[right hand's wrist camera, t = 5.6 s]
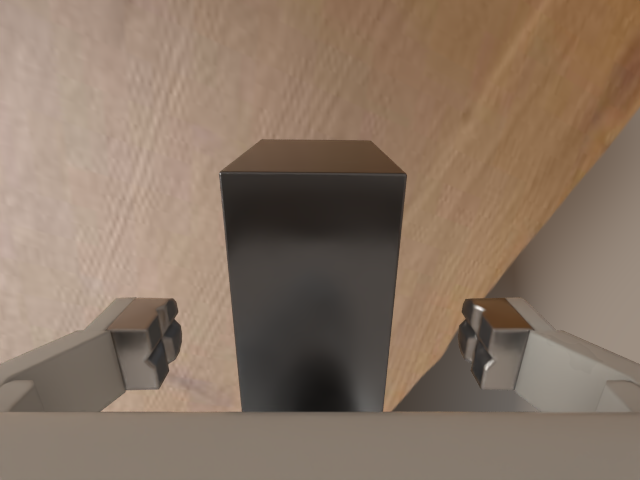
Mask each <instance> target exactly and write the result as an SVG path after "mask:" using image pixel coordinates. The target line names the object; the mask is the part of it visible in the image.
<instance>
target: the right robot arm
mask: <svg viewBox="0 0 640 480" xmlns="http://www.w3.org/2000/svg"><path fill="white" fill-rule="evenodd" d="M177 313H178V308H177V303H176V301H175V300H174V299H173V298H136V297H134V298H117V299H115V300H114V301H113V302H112V303H111V304H110V305H109V306H108V307H107V308H106V309H105V310H104V311H103V312H102V313H101V314H100V315H99V316H98V317H97V318H96V319H95V320H94V321H93V322H92V323H91V324H90V325H89V326H88V327H87V328H86V329H84V330H83V331H75V332H73V333H71V334H68V335H66V336H64V337H62V338H59V339H57V340H55V341H52V342H50V343H48V344H45V345H43V346H41V347H38V348H36V349H34V350H32V351H29V352H27V353H25V354H22V355H20V356H18V357H15V358H13V359H11V360H8V361H6V362H4V363H2V364H0V480H640V364H638V363H636V362H634V361H631V360H629V359H627V358H624V357H622V356H620V355H617V354H615V353H613V352H611V351H608V350H606V349H604V348H601V347H599V346H597V345H594V344H592V343H590V342H588V341H585V340H583V339H581V338H578V337H576V336H574V335H571V334H569V333H567V332H565V331H557V330H556V329H555V328H553V327H552V326H551V325H550V324H549V323H548V322H547V321H546V320H545V319H544V318H543V317H542V316H541V315H540V314H539V313H538V312H537V311H536V310H535V309H534V308H533V307H532V306H531V305H530V304H529V303H528V302H527V301H526V300H525V299H523V298H520V297H516V298H480V299H465V301H464V303H463V307H462V313H463V315H464V317H465V318H466V319H465V320H464V321H463V322H462V323H461V324H460V325H459V332H458V342H459V348H460V351H461V354H462V355H463V357H464V359H465V360H466V361H468V362H469V363H471V364H472V367H471V372H472V374H473V376H474V377H475V379H476V381H477V383H478V384H479V386H480V388H481V389H488V390H515V391H514V392H515V393H517V394H518V395H519V396H521V397H522V398H523V399H525V400H526V401H527V402H528V403H530V404H531V405H532V406H533V407H535V408H536V409H537V410H539V411H540V412H100V411H102V410H103V409H104V408H105V407H107V406H108V405H109V404H111V403H112V402H113V401H114V400H116V399H117V398H118V397H120V396H121V395H122V394H123V393H125V392H126V391H125V390H151V389H159V388H160V386H161V385H162V383H163V381H164V379H165V377H166V376H167V374H168V372H169V367H168V364H169V363H171V362H172V361H174V360H175V359H176V357H177V356H178V354H179V352H180V347H181V343H182V331H181V326H180V324H179V323H178V322H177V321H176V320H175V319H174V318H175V317H176V315H177Z"/></svg>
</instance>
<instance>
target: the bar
mask: <svg viewBox="0 0 640 480" xmlns="http://www.w3.org/2000/svg"><path fill="white" fill-rule="evenodd" d="M219 177H220V188H221V198H222V209H223V219H224V230H225V240H226V251H227V261H228V271H229V282H230V292H231V303H232V313H233V324H234V334H235V344H236V355H237V365H238V376H239V386H240V397H241V407H242V412H383V405H384V395H385V386H386V376H387V366H388V356H389V346H390V337H391V327H392V317H393V307H394V297H395V288H396V278H397V268H398V258H399V248H400V238H401V229H402V219H403V209H404V199H405V189H406V180H407V175H406V173H405V172H404V171H403V170H402V169H401V168H399V167H398V166H397V165H396V164H395V163H394V162H393V161H392V160H391V159H390V158H389V157H388V156H387V155H386V154H384V153H383V152H382V151H381V150H380V149H379V148H378V147H377V146H376V145H375V144H374V143H373V142H372V141H368V140H274V139H262V140H260V141H259V142H258V143H256V144H255V145H254V146H252V147H251V148H250V149H249V150H247V151H246V152H245V153H243V154H242V155H241V156H240V157H238V158H237V159H236V160H234V161H233V162H232V163H231V164H229V165H228V166H227V167H225V168H224V169H223V170H222V171H220V173H219Z"/></svg>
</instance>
